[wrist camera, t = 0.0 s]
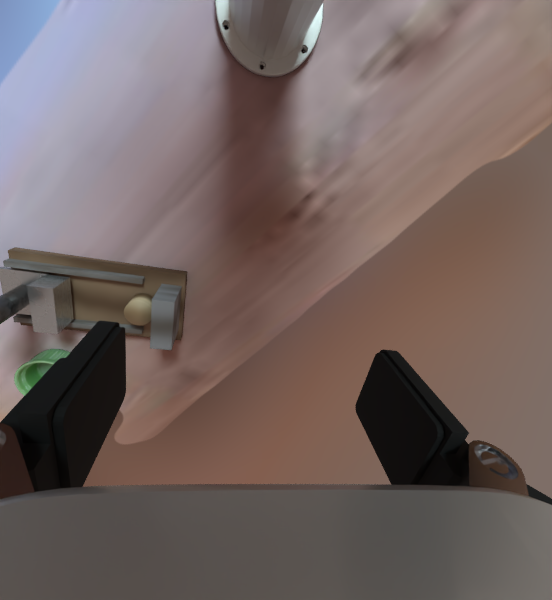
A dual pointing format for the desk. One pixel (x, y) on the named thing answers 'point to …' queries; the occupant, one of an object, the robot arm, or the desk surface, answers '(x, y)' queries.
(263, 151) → the desk surface
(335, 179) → the desk surface
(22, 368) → the ramekin
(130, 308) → the beige rounded dome
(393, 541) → the robot arm
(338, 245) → the desk surface
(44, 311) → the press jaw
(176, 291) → the press frame
